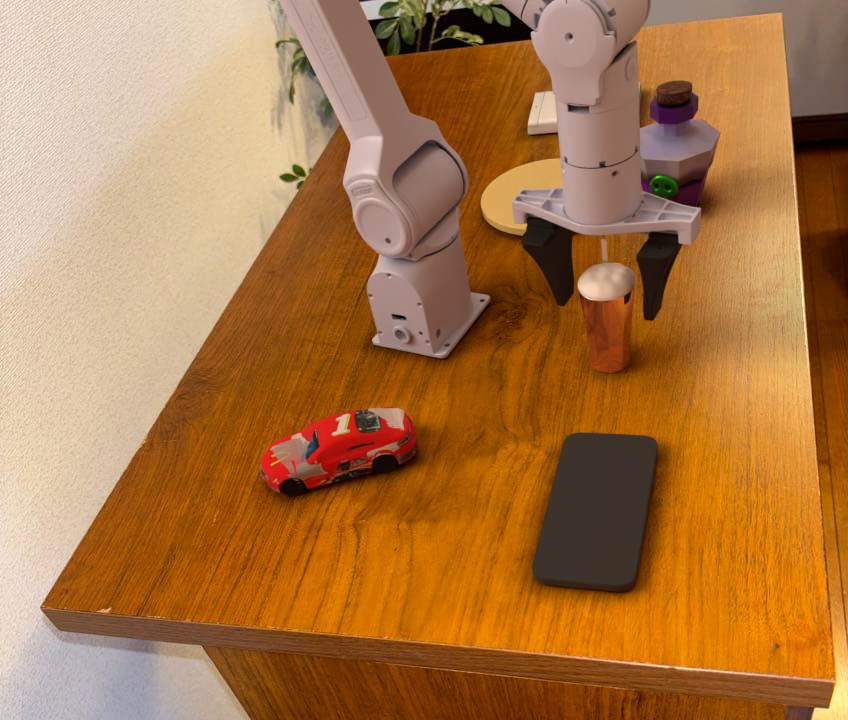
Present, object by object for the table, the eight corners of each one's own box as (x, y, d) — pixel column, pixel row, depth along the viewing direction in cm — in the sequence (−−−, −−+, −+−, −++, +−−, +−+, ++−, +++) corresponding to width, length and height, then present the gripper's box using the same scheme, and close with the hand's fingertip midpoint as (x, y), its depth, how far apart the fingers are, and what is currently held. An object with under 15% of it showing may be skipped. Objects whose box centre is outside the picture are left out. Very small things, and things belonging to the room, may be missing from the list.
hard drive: (641, 80, 114) (535, 89, 118) (637, 114, 109) (526, 122, 113) (641, 94, 116) (536, 103, 119) (637, 128, 111) (528, 136, 114)
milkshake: (635, 337, 86) (632, 236, 79) (638, 376, 82) (636, 274, 75) (583, 341, 87) (575, 242, 79) (584, 380, 83) (576, 280, 76)
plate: (583, 249, 96) (582, 236, 95) (459, 232, 103) (457, 220, 102) (636, 176, 104) (636, 164, 103) (517, 164, 110) (516, 152, 109)
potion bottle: (633, 233, 97) (630, 114, 88) (626, 188, 102) (622, 72, 94) (723, 221, 95) (729, 99, 86) (711, 176, 101) (716, 58, 92)
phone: (527, 577, 69) (565, 431, 78) (528, 584, 70) (565, 438, 79) (634, 587, 67) (660, 435, 76) (634, 595, 67) (660, 443, 76)
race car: (266, 505, 80) (251, 470, 77) (264, 461, 84) (249, 426, 81) (423, 466, 80) (413, 430, 77) (414, 424, 83) (404, 388, 80)
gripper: (717, 128, 69) (711, 291, 79) (532, 115, 76) (548, 267, 86) (682, 179, 66) (681, 343, 76) (491, 161, 72) (512, 314, 82)
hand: (608, 306), depth 81 cm, fingers open, 7 cm apart
